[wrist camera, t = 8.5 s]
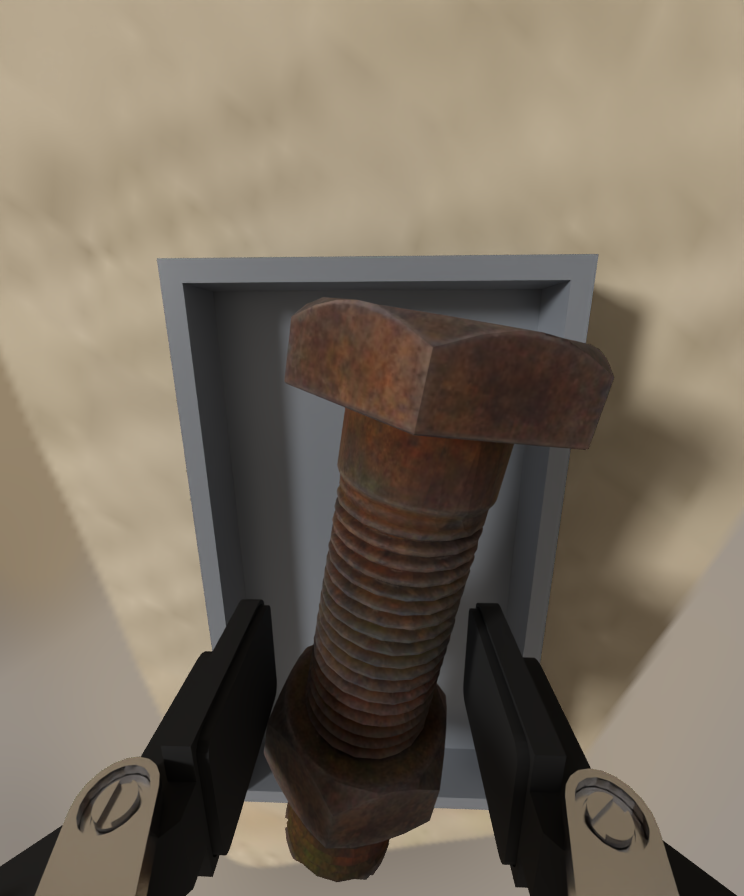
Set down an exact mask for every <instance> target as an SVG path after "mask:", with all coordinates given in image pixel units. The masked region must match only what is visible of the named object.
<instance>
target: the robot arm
mask: <svg viewBox="0 0 744 896" xmlns="http://www.w3.org/2000/svg"><path fill="white" fill-rule="evenodd" d="M276 691H277V677H276V665H275V653H274V642H273V630H272V618H271V608H270V606H269V605H264V601H263V600H262V599H242V600H241V601H240V602H239V604H238V606H237V607H236V609H235V611H234V613H233V615H232V617H231V618H230V620H229V622H228V624H227V626H226V628H225V629H224V631H223V633H222V635H221V637H220V638H219V640H218V642H217V644H216V646H215V648H214V649H213V651H205V652H203V653H202V654H201V655H200V657H199V658H198V659H197V661H196V663H195V665H194V666H193V668H192V670H191V671H190V673H189V675H188V677H187V678H186V680H185V682H184V683H183V685H182V687H181V689H180V690H179V692H178V694H177V695H176V697H175V699H174V701H173V702H172V704H171V706H170V707H169V709H168V711H167V713H166V714H165V716H164V718H163V719H162V721H161V723H160V725H159V727H158V728H157V730H156V732H155V734H154V735H153V737H152V738H151V740H150V742H149V744H148V746H147V747H146V749H145V750H144V752H143V754H142V756H141V757H133V758H126V759H124V760H121V761H118V762H116V763H114V764H112V765H110V766H109V767H107V768H105V769H104V770H102V771H101V772H99V773H98V774H97V775H96V776H95V777H94V778H92V779H91V780H90V781H89V782H88V783H87V784H86V785H85V786H84V788H83V789H82V790H81V791H80V792H79V794H78V795H77V796H76V798H75V800H74V801H73V803H72V805H71V807H70V809H69V811H68V813H67V816H66V818H65V821H64V823H63V825H62V826H61V827H59V828H58V829H56V830H55V831H53V832H52V833H50V834H49V835H47V836H46V837H44V838H42V839H41V840H40V841H38V842H37V843H35V844H33V845H32V846H31V847H29V848H28V849H26V850H24V851H23V852H21V853H20V854H18V855H17V856H16V857H14V858H12V859H11V860H9V861H8V862H6V863H5V864H3V865H2V866H0V896H186V895H187V894H188V893H189V892H190V891H191V890H193V888H194V885H195V882H196V880H197V877H198V876H208V877H213V874H214V871H215V868H216V865H217V862H218V859H219V855H227V853H228V851H229V849H230V846H231V843H232V840H233V837H234V833H235V830H236V827H237V823H238V820H239V817H240V813H241V810H242V807H243V803H244V800H245V797H246V793H247V790H248V787H249V783H250V780H251V777H252V773H253V770H254V767H255V763H256V760H257V757H258V754H259V750H260V747H261V744H262V740H263V737H264V734H265V730H266V727H267V722H268V720H269V717H270V714H271V710H272V707H273V704H274V700H275V697H276ZM463 695H464V702H465V707H466V711H467V716H468V720H469V725H470V729H471V734H472V738H473V742H474V747H475V751H476V756H477V760H478V765H479V769H480V773H481V778H482V782H483V787H484V791H485V796H486V800H487V804H488V809H489V813H490V818H491V822H492V827H493V831H494V836H495V840H496V844H497V849H498V853H499V857H500V860H501V863H502V864H504V865H510V866H511V870H512V875H513V879H514V883H515V887H525V888H528V890H529V893H530V896H737V895H735V894H734V893H733V892H731V891H730V890H729V889H727V888H726V887H725V886H723V885H722V884H721V883H719V882H718V881H717V880H715V879H714V878H713V877H711V876H710V875H708V874H707V873H706V872H705V871H703V870H702V869H700V868H699V867H698V866H697V865H695V864H694V863H692V862H691V861H690V860H688V859H687V858H686V857H684V856H683V855H682V854H680V853H679V852H678V851H676V850H675V849H674V848H672V847H671V846H670V845H668V844H667V843H665V842H664V841H663V840H662V837H661V833H660V830H659V827H658V825H657V823H656V820H655V818H654V816H653V814H652V812H651V811H650V809H649V808H648V807H647V805H646V804H645V802H644V801H643V800H642V798H641V797H640V796H639V795H638V794H637V793H635V791H634V790H633V789H632V788H630V786H628V785H627V784H625V783H624V782H623V781H621V780H619V779H618V778H617V777H615V776H613V775H611V774H608V773H606V772H604V771H601V770H595V769H591V768H590V766H589V764H588V762H587V759H586V757H585V755H584V753H583V751H582V749H581V747H580V745H579V743H578V741H577V739H576V737H575V735H574V733H573V731H572V729H571V727H570V725H569V722H568V720H567V718H566V716H565V714H564V712H563V710H562V708H561V706H560V704H559V702H558V700H557V698H556V696H555V694H554V692H553V690H552V688H551V686H550V683H549V681H548V679H547V677H546V675H545V673H544V671H543V669H542V667H541V665H540V663H539V662H538V660H537V659H536V658H531V657H522V654H521V652H520V650H519V648H518V645H517V643H516V641H515V639H514V636H513V634H512V632H511V630H510V627H509V625H508V623H507V621H506V618H505V616H504V614H503V611H502V609H501V607H500V605H499V604H498V603H477V604H476V608H470V609H469V615H468V628H467V642H466V655H465V668H464V681H463Z"/></svg>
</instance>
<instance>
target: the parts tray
mask: <svg viewBox="0 0 744 896" xmlns="http://www.w3.org/2000/svg"><path fill="white" fill-rule="evenodd" d="M597 261H598V254H558V255H456V256H355V257H254V258H157V263H158V270H159V278H160V285H161V292H162V299H163V306H164V313H165V320H166V327H167V334H168V341H169V348H170V355H171V362H172V369H173V376H174V383H175V391H176V398H177V405H178V412H179V419H180V426H181V433H182V440H183V447H184V454H185V461H186V468H187V475H188V482H189V489H190V496H191V504H192V511H193V518H194V525H195V532H196V539H197V546H198V553H199V560H200V567H201V574H202V581H203V588H204V595H205V602H206V609H207V617H208V624H209V631H210V638H211V645H212V651H213V649H214V648H215V646H216V644H217V642H218V640H219V638H220V637H221V635H222V633H223V631H224V629H225V628H226V626H227V624H228V622H229V620H230V618H231V617H232V615H233V613H234V611H235V609H236V607H237V606H238V604H239V602H240V601H241V600H242V599H262V600H263V601H264V605H269V606H270V608H271V618H272V630H273V642H274V653H275V665H276V677H277V691H276V697H275V700H274V704H273V707H272V710H271V713H272V711H273V708H274V706H275V704H276V701H277V699H278V697H279V694H280V692H281V690H282V688H283V686H284V684H285V682H286V680H287V678H288V676H289V674H290V671H291V670H292V668H293V666H294V665H295V663H296V661H297V660H298V658H299V657H300V655H301V654H302V653H303V651H304V650H305V649H306V648H307V647H308V646H311V645H313V644H314V635H315V629H316V624H317V614H318V611H319V603H320V596H321V590H322V583H323V578H324V569H325V566H326V558H327V554H328V551H329V547H328V544H329V541H330V538H331V531H332V524H333V521H332V519H333V515H334V511H335V502H336V499H337V497H338V496H337V488H338V487H339V485H340V484H339V481H340V472H339V470H338V466H337V463H338V456H339V448H340V441H341V434H342V427H343V420H344V413H345V407H343V406H340V405H338V404H335V403H333V402H330V401H328V400H325V399H323V398H320V397H318V396H315V395H313V394H310V393H308V392H306V391H303V390H301V389H298V388H296V387H293V386H291V385H288V384H286V383H285V382H284V379H285V370H286V360H287V351H288V342H289V333H290V324H291V316H293V315H294V314H295V313H296V312H298V311H299V310H300V309H301V308H303V307H304V306H305V305H306V304H308V303H310V302H313V301H315V300H318V299H320V298H322V297H329V298H342V299H354V300H360V301H365V302H369V303H373V304H378V305H384V306H391V307H397V308H403V309H409V310H416V311H422V312H428V313H434V314H441V315H447V316H453V317H458V318H464V319H470V320H475V321H481V322H487V323H493V324H498V325H504V326H510V327H516V328H521V329H527V330H533V331H539V332H544V333H547V334H551V335H554V336H558V337H561V338H565V339H569V340H574V341H578V342H582V343H586V338H587V331H588V324H589V317H590V310H591V303H592V296H593V289H594V282H595V275H596V268H597ZM570 450H571V449H569V448H556V447H544V446H532V445H521V444H514V446H513V449H512V453H511V456H510V459H509V462H508V466H507V469H506V472H505V475H504V478H503V482H502V485H501V488H500V491H499V494H498V498H497V501H496V502H495V504H494V505H493V506H492V507H491V508H490V509H489V511H488V514H487V517H486V521H485V524H484V526H483V532H482V535H481V536H480V538H479V540H478V548H477V551H476V552H475V554H474V555H475V558H474V562H473V563H472V565H471V567H470V574H469V576H468V579H467V581H466V585H465V588H464V592H463V595H462V597H461V601H460V605H459V608H458V612H457V614H456V617H455V624H454V627H453V631H452V632H451V636H450V641H449V644H448V645H447V651H446V654H445V656H444V660H443V664H442V667H441V669H440V674H439V677H438V680H437V684H438V685H439V686H440V688H441V689H442V691H443V692H444V693H445V695H446V704H447V725H446V739H445V751H444V761H443V769H442V777H441V785H440V791H439V794H438V797H437V800H436V803H435V806H434V808H450V809H479V810H489V809H488V804H487V800H486V796H485V791H484V787H483V782H482V778H481V773H480V769H479V765H478V760H477V756H476V751H475V747H474V742H473V738H472V734H471V729H470V725H469V720H468V716H467V711H466V707H465V702H464V695H463V681H464V668H465V655H466V642H467V628H468V615H469V609H470V608H476V604H477V603H498V604H499V605H500V607H501V609H502V611H503V614H504V616H505V618H506V621H507V623H508V625H509V627H510V630H511V632H512V634H513V636H514V639H515V641H516V643H517V645H518V648H519V650H520V652H521V654H522V657H531V658H536V659H537V660H538V662H539V663H540V660H541V653H542V646H543V639H544V632H545V625H546V618H547V611H548V604H549V597H550V590H551V583H552V576H553V569H554V562H555V555H556V548H557V541H558V534H559V527H560V520H561V513H562V506H563V499H564V492H565V485H566V478H567V471H568V464H569V457H570ZM270 715H271V714H270ZM269 718H270V717H269ZM266 730H267V727H266ZM266 730H265V734H264V737H263V740H262V744H261V747H260V750H259V754H258V757H257V760H256V763H255V767H254V770H253V773H252V777H251V780H250V783H249V787H248V790H247V793H246V797H245V800H244V801H249V802H277V803H288V801H287V799H286V797H285V795H284V794H283V792H282V790H281V788H280V787H279V785H278V783H277V781H276V779H275V777H274V775H273V773H272V771H271V768H270V766H269V764H268V762H267V760H266V757H265V755H264V747H265V738H266Z"/></svg>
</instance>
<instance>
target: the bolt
mask: <svg viewBox="0 0 744 896" xmlns="http://www.w3.org/2000/svg"><path fill="white" fill-rule="evenodd" d="M613 380H614V376H613V373H612V370H611V368H610V365H609V363H608V360H607V358H606V357H605V356H604V354H603V353H602V352H601V351H600V350H599V349H598V348H596V347H594V346H592V345H590V344H587V343H582V342H578V341H574V340H569V339H565V338H561V337H558V336H554V335H551V334H547V333H544V332H539V331H533V330H527V329H521V328H516V327H510V326H504V325H498V324H493V323H487V322H481V321H475V320H470V319H464V318H458V317H453V316H447V315H441V314H434V313H428V312H422V311H416V310H409V309H403V308H397V307H391V306H384V305H378V304H373V303H369V302H365V301H360V300H354V299H342V298H329V297H322V298H320V299H318V300H315V301H313V302H310V303H308V304H306V305H305V306H304V307H303V308H301V309H300V310H299V311H298V312H296V313H295V314H294V315H293V316H291V324H290V333H289V342H288V351H287V360H286V370H285V379H284V382H285V383H286V384H288V385H291V386H293V387H296V388H298V389H301V390H303V391H306V392H308V393H310V394H313V395H315V396H318V397H320V398H323V399H325V400H328V401H330V402H333V403H335V404H338V405H340V406H343V407H345V413H344V420H343V427H342V434H341V441H340V448H339V456H338V463H337V466H338V470H339V472H340V481H339V484H340V485H339V487H338V488H337V496H338V497H337V499H336V502H335V511H334V515H333V519H332V521H333V524H332V531H331V538H330V541H329V544H328V547H329V551H328V554H327V558H326V566H325V569H324V578H323V583H322V590H321V596H320V603H319V611H318V614H317V624H316V629H315V635H314V644H313V645H311V646H308V647H307V648H306V649H305V650H304V651H303V653H302V654H301V655H300V657H299V658H298V660H297V661H296V663H295V665H294V666H293V668H292V670H291V671H290V674H289V676H288V678H287V680H286V682H285V684H284V686H283V688H282V690H281V692H280V694H279V697H278V699H277V701H276V704H275V706H274V708H273V711H272V713H271V715H270V718H269V720H268V722H267V730H266V738H265V747H264V755H265V757H266V760H267V762H268V764H269V766H270V768H271V771H272V773H273V775H274V777H275V779H276V781H277V783H278V785H279V787H280V788H281V790H282V792H283V794H284V795H285V797H286V799H287V801H288V804H287V809H286V817H285V818H287V819H288V821H287V827H286V828H285V830H286V839H287V843H288V846H289V850H290V853H291V855H292V857H293V859H295V860H296V861H299V862H300V863H302V864H304V866H306V867H307V868H308V869H309V870H310V871H312V872H313V873H314V874H315V875H316V876H319V877H322V878H325V879H329V880H332V881H335V882H340V881H346V880H351V879H364V880H365V879H367V878H368V877H369V876H370V875H373V874H374V873H375V871H376V870H377V869H378V867H379V866H380V864H381V862H382V860H383V858H384V856H385V853H386V850H387V848H388V845H389V844H388V843H389V839H391V838H393V837H396V836H399V835H402V834H404V833H406V832H408V831H410V830H412V829H414V828H416V827H418V826H420V825H422V824H424V823H426V822H428V821H430V818H431V815H432V812H433V809H434V806H435V803H436V800H437V797H438V794H439V791H440V785H441V777H442V769H443V761H444V751H445V739H446V725H447V704H446V695H445V693H444V692H443V691H442V689H441V688H440V686H439V685H438V684H437V680H438V677H439V674H440V669H441V667H442V664H443V660H444V656H445V654H446V651H447V645H448V644H449V641H450V636H451V632H452V631H453V627H454V624H455V617H456V614H457V612H458V608H459V605H460V601H461V597H462V595H463V592H464V588H465V585H466V581H467V579H468V576H469V574H470V567H471V565H472V563H473V562H474V558H475V555H474V554H475V552H476V551H477V548H478V540H479V538H480V536H481V535H482V532H483V526H484V524H485V521H486V517H487V514H488V511H489V509H490V508H491V507H492V506H493V505H494V504H495V502H496V501H497V498H498V494H499V491H500V488H501V485H502V482H503V478H504V475H505V472H506V469H507V466H508V462H509V459H510V456H511V453H512V449H513V446H514V444H521V445H532V446H544V447H556V448H569V449H582V450H586V449H589V446H590V443H591V440H592V438H593V435H594V432H595V429H596V427H597V424H598V421H599V418H600V415H601V413H602V410H603V407H604V404H605V402H606V399H607V396H608V393H609V391H610V388H611V385H612V382H613Z"/></svg>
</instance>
